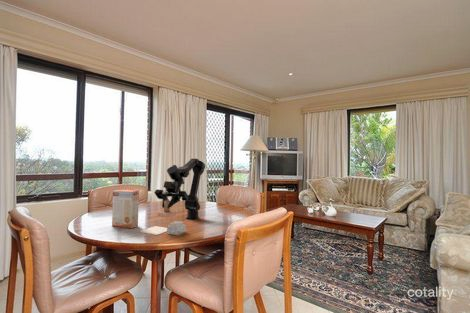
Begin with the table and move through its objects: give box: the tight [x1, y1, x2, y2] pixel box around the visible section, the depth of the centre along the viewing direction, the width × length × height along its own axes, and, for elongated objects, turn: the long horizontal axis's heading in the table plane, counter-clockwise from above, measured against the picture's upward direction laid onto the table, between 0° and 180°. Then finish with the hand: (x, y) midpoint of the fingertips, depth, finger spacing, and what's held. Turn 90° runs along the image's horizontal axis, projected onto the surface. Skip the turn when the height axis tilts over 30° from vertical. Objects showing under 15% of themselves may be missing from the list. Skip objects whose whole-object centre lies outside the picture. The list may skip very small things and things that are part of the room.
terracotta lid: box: [157, 199, 176, 219], centre depth 136 cm, size 7×7×8 cm
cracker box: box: [111, 189, 140, 229], centre depth 145 cm, size 14×6×21 cm, turn 71°
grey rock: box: [166, 220, 187, 236], centre depth 135 cm, size 7×7×6 cm
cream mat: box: [139, 225, 167, 236], centre depth 138 cm, size 12×12×1 cm
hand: (165, 207), depth 134 cm, fingers closed on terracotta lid, 3 cm apart
